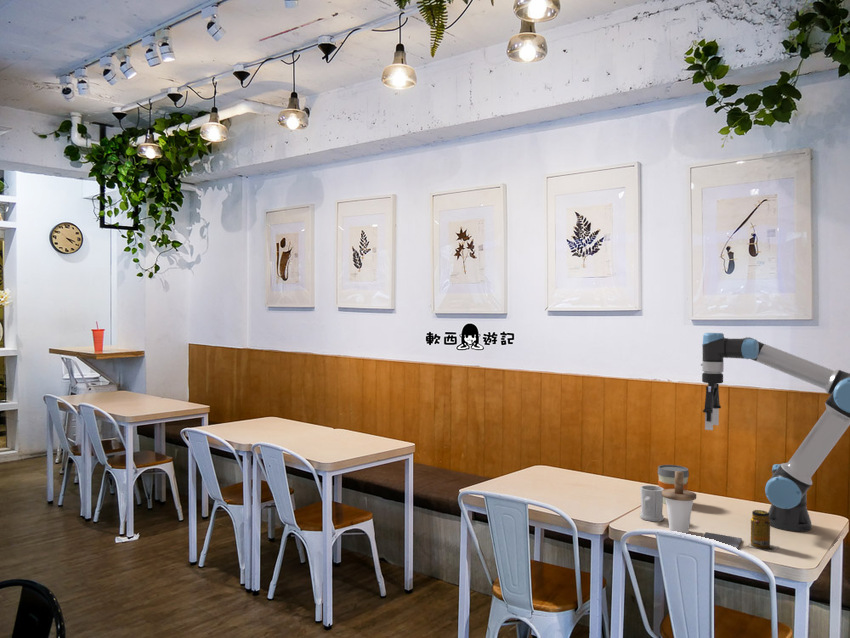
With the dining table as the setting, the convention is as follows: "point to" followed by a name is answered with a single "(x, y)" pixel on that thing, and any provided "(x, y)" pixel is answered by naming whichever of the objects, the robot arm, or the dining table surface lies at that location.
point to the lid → (679, 490)
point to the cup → (651, 503)
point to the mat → (724, 539)
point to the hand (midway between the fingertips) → (711, 427)
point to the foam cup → (679, 514)
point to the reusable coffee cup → (671, 477)
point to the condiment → (761, 531)
